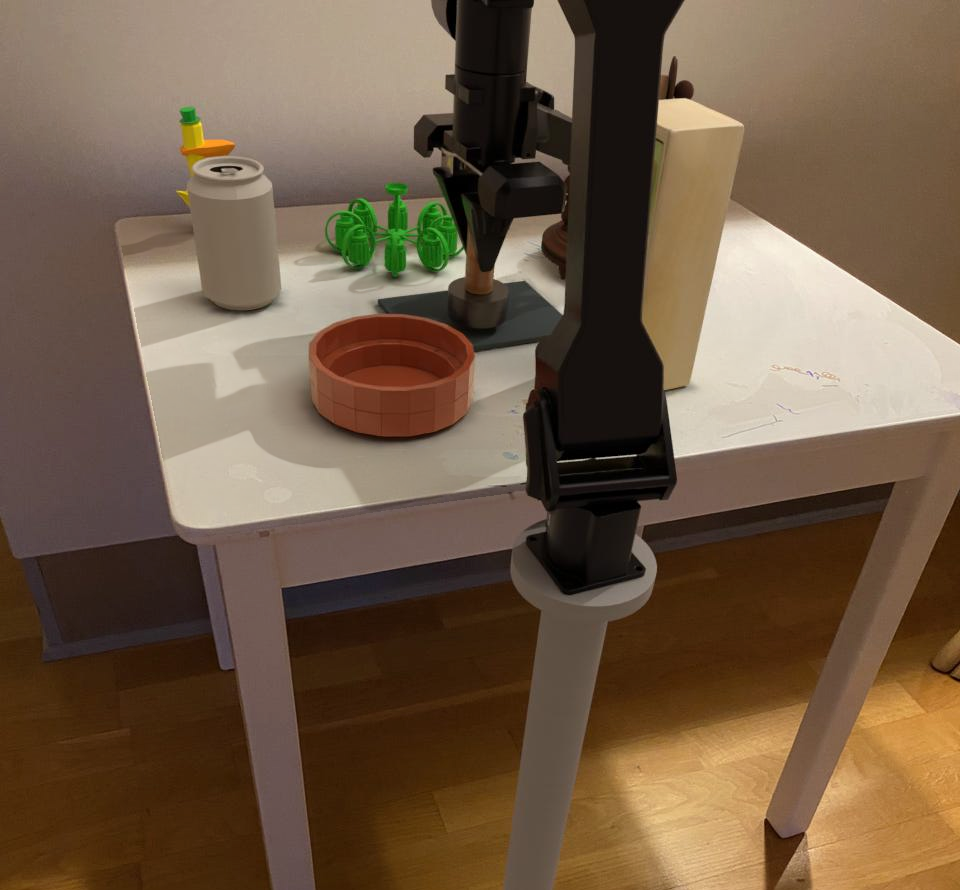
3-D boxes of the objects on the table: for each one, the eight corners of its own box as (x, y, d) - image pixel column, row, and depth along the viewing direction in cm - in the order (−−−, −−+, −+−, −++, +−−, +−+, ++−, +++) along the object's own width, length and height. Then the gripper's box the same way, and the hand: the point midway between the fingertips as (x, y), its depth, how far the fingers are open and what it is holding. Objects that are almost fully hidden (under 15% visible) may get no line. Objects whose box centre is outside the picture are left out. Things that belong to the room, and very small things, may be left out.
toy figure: (239, 220, 105) (225, 100, 97) (247, 232, 103) (234, 110, 95) (178, 227, 103) (158, 104, 94) (185, 238, 100) (166, 114, 92)
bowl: (496, 426, 76) (501, 375, 73) (340, 454, 72) (337, 401, 69) (436, 353, 85) (437, 305, 82) (293, 375, 80) (289, 324, 77)
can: (273, 278, 94) (261, 149, 86) (290, 309, 89) (278, 176, 81) (197, 285, 92) (177, 153, 84) (210, 318, 87) (190, 181, 79)
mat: (579, 335, 89) (580, 330, 89) (422, 359, 84) (422, 354, 83) (524, 285, 97) (525, 280, 96) (377, 303, 91) (377, 298, 91)
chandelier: (331, 225, 105) (328, 159, 101) (464, 231, 106) (467, 166, 102) (320, 280, 95) (316, 209, 90) (468, 286, 96) (471, 216, 91)
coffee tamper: (516, 324, 87) (526, 219, 80) (460, 332, 85) (465, 225, 78) (492, 298, 90) (500, 196, 84) (438, 305, 89) (441, 201, 82)
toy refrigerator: (573, 359, 85) (608, 101, 71) (641, 347, 88) (688, 96, 74) (619, 400, 80) (666, 131, 66) (689, 386, 83) (750, 125, 68)
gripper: (639, 92, 70) (608, 296, 81) (530, 37, 82) (515, 220, 93) (505, 100, 67) (491, 312, 77) (412, 40, 79) (410, 230, 89)
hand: (479, 264), depth 84 cm, fingers closed on coffee tamper, 2 cm apart
